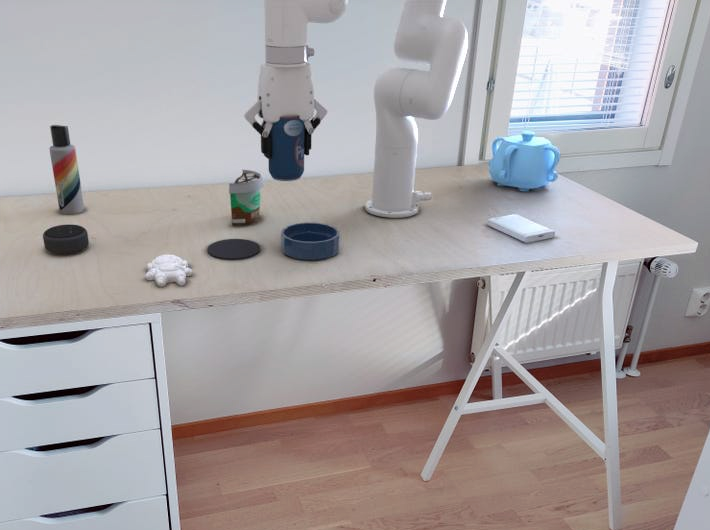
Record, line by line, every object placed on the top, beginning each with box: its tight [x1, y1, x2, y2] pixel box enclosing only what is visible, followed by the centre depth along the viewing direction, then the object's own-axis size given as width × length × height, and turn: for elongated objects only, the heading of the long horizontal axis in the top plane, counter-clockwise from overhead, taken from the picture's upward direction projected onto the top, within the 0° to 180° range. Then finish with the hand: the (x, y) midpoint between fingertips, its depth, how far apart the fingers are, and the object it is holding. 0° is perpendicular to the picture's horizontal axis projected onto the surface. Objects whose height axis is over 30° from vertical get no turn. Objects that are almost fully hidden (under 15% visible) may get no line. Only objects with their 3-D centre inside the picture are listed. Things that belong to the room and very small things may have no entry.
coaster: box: [206, 238, 261, 261], centre depth 147 cm, size 11×11×1 cm
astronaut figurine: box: [144, 254, 193, 288], centre depth 136 cm, size 9×12×3 cm
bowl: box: [280, 221, 340, 261], centre depth 146 cm, size 12×12×4 cm
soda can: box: [268, 116, 305, 182], centre depth 137 cm, size 7×7×12 cm
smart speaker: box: [42, 223, 90, 256], centre depth 147 cm, size 9×9×4 cm
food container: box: [228, 169, 265, 227], centre depth 161 cm, size 12×6×10 cm, turn 168°
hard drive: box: [486, 213, 556, 244], centre depth 157 cm, size 2×8×12 cm
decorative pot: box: [488, 130, 561, 192], centre depth 184 cm, size 16×16×14 cm
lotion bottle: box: [49, 124, 85, 215], centre depth 164 cm, size 6×6×20 cm
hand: (286, 154), depth 137 cm, fingers closed on soda can, 7 cm apart
